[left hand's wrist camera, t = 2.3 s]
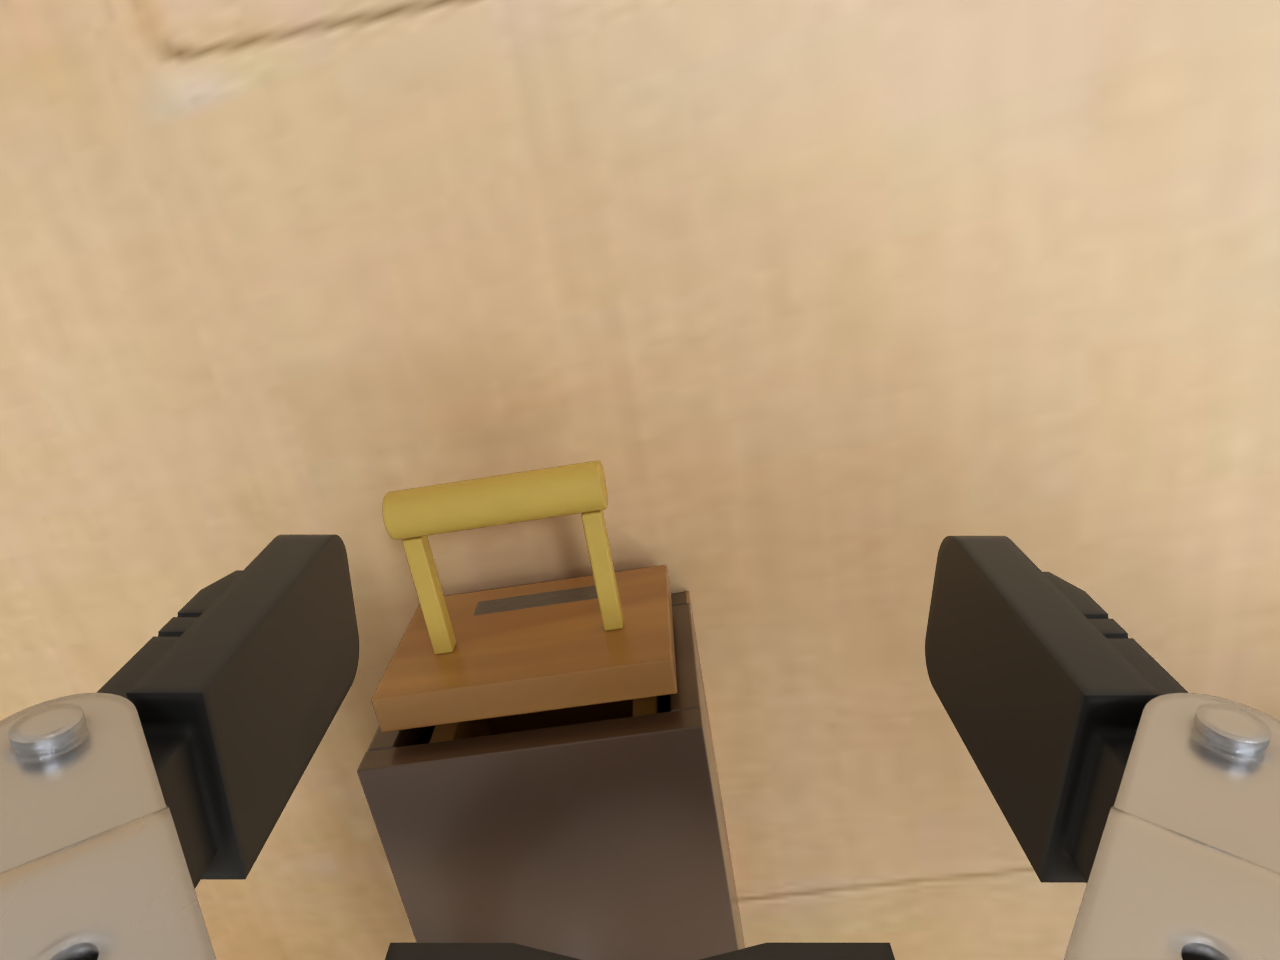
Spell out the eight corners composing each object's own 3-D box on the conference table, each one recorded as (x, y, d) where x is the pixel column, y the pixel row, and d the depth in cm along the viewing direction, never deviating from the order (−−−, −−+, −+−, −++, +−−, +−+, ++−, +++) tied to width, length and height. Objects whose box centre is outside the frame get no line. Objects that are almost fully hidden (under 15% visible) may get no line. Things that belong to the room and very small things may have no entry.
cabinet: (423, 627, 31) (355, 770, 24) (688, 590, 31) (702, 725, 23) (534, 1006, 38) (508, 1206, 31) (750, 982, 38) (776, 1180, 30)
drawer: (381, 458, 28) (315, 532, 22) (642, 418, 27) (641, 483, 22) (531, 979, 36) (511, 1127, 31) (731, 957, 36) (747, 1103, 30)
